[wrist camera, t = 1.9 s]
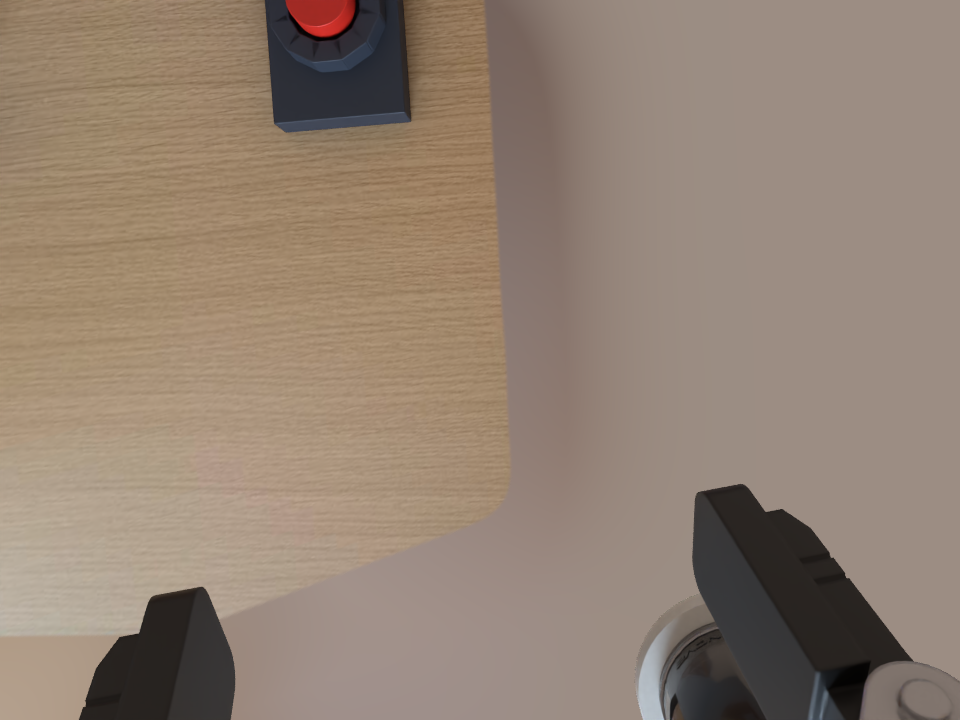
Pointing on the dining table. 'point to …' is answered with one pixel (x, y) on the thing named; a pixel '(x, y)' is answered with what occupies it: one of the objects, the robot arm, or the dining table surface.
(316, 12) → the button
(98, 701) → the robot arm
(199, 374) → the dining table surface
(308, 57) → the button box
